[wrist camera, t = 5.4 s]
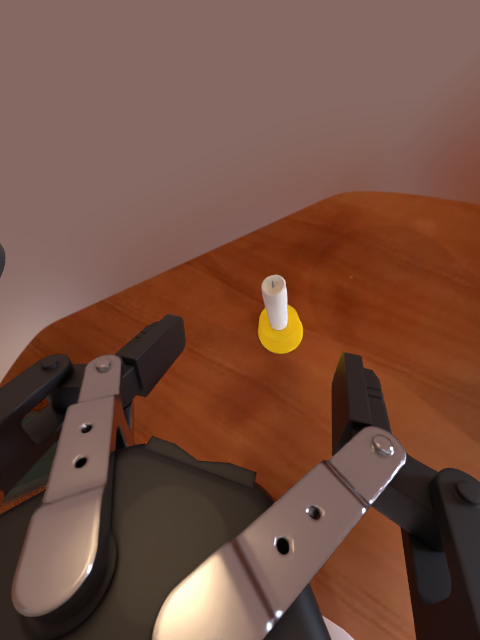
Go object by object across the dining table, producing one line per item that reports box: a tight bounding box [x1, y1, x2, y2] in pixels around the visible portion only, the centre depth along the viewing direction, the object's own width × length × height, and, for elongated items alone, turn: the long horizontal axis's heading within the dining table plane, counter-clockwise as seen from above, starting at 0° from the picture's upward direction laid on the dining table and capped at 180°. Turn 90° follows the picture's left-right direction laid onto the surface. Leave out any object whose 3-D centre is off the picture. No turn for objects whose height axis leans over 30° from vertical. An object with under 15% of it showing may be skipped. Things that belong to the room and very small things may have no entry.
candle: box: [258, 275, 303, 354], centre depth 21 cm, size 5×5×16 cm
